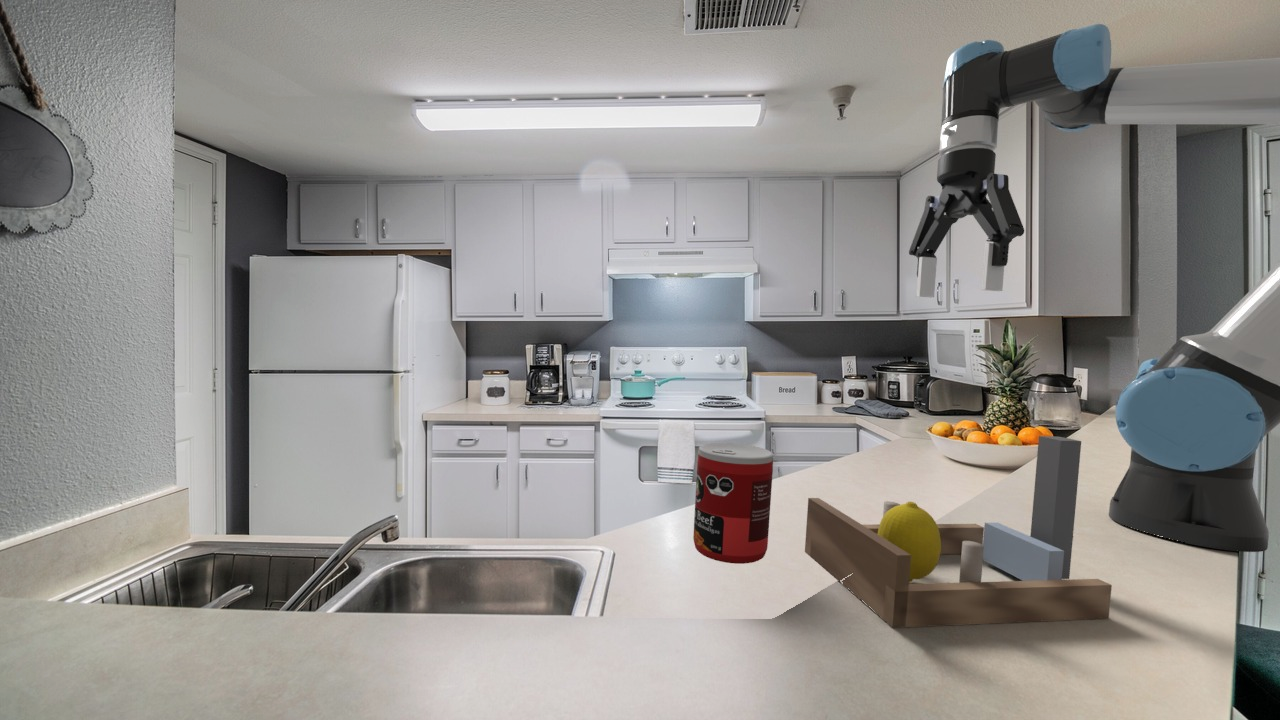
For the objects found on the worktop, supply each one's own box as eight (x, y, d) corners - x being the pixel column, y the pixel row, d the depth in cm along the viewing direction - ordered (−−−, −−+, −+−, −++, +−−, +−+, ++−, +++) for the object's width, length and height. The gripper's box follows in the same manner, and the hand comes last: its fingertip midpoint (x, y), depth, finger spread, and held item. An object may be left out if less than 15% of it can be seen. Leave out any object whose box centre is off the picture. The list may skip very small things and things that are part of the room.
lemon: (922, 573, 54) (929, 496, 54) (947, 599, 49) (955, 514, 48) (866, 567, 55) (872, 490, 55) (884, 592, 49) (892, 508, 49)
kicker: (1025, 558, 59) (1036, 431, 58) (1095, 591, 51) (1108, 446, 50) (981, 559, 58) (992, 430, 57) (1045, 592, 50) (1058, 445, 50)
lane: (973, 549, 62) (977, 498, 62) (1108, 618, 47) (1114, 551, 47) (804, 551, 58) (808, 497, 58) (892, 627, 43) (897, 555, 43)
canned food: (686, 536, 61) (691, 441, 61) (753, 537, 62) (759, 443, 62) (701, 565, 54) (707, 456, 53) (777, 565, 54) (784, 459, 54)
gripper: (892, 175, 93) (883, 297, 94) (1015, 118, 68) (1002, 285, 69) (931, 179, 94) (922, 300, 95) (1065, 125, 69) (1051, 289, 70)
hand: (955, 294), depth 82 cm, fingers open, 13 cm apart
